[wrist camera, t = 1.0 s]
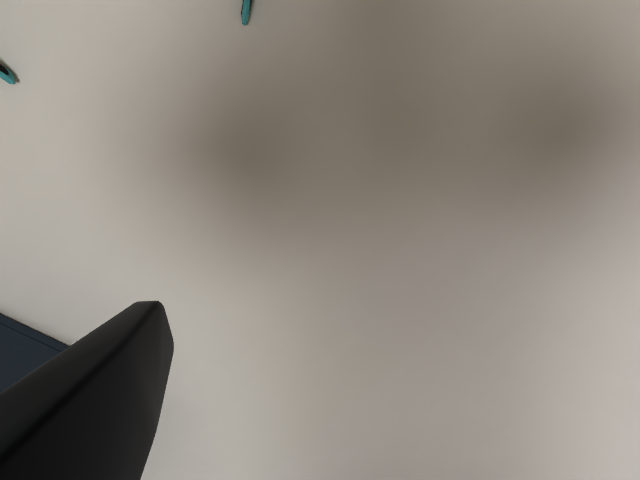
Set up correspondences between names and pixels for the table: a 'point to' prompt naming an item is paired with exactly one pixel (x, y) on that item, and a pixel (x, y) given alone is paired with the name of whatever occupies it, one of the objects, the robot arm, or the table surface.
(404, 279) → the table surface
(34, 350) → the tub
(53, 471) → the robot arm
